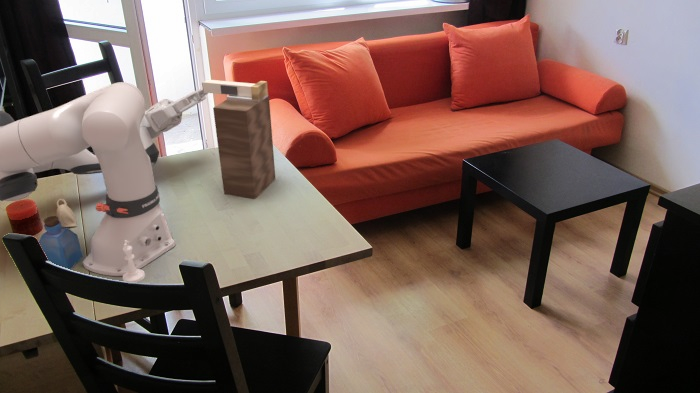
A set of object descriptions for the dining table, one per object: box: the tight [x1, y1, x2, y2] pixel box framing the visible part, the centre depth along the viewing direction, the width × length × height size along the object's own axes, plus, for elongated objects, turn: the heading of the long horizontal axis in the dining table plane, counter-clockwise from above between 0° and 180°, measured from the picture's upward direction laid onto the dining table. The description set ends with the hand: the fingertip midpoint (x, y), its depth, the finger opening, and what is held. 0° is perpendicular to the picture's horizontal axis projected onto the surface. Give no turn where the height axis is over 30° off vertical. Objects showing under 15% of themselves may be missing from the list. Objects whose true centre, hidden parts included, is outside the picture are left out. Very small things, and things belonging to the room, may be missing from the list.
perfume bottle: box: [38, 215, 84, 270], centre depth 132 cm, size 6×6×12 cm
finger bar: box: [201, 79, 256, 97], centre depth 161 cm, size 3×16×3 cm, turn 72°
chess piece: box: [122, 240, 146, 283], centre depth 128 cm, size 5×5×10 cm
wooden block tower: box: [212, 80, 276, 200], centre depth 163 cm, size 14×10×31 cm
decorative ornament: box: [56, 198, 77, 228], centre depth 151 cm, size 4×8×5 cm, turn 25°
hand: (197, 95), depth 167 cm, fingers open, 8 cm apart
